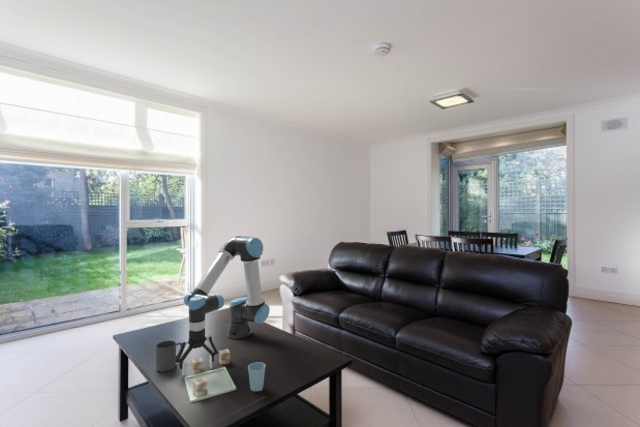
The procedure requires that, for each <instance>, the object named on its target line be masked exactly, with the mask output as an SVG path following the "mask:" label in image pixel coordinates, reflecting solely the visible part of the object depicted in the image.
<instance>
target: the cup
mask: <svg viewBox="0 0 640 427" xmlns="http://www.w3.org/2000/svg"><path fill="white" fill-rule="evenodd" d="M247 371H248V379H249V388H250V391H252V392H261V391H263V390H264V389H263V388H264V384H265V382H264V381H265V374H266V363H264V362H261V361H256V362H252V363H250V364H248V366H247Z"/></svg>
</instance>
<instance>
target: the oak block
mask: <svg viewBox="0 0 640 427" xmlns="http://www.w3.org/2000/svg"><path fill="white" fill-rule="evenodd" d="M218 362H219V364H220V365H223V366H225V365H230V364H231V352H230V350H229V349H228V348H225V349H222V350H219V351H218Z"/></svg>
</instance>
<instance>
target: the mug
mask: <svg viewBox="0 0 640 427" xmlns="http://www.w3.org/2000/svg"><path fill="white" fill-rule="evenodd" d="M177 346H180V348H181V346H182V342H176V341H175V340H165V341H161V342H159V343H157V344H156V347H155V349H156V350H155V366H156V367H155V370H156V371H157V372H159V371H160V372H159V373H165V371H166V372H169V371H172V370H174V369H175V368H176V366H177V363H176V361H175V359H176V357H177Z"/></svg>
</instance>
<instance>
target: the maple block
mask: <svg viewBox="0 0 640 427" xmlns="http://www.w3.org/2000/svg"><path fill="white" fill-rule="evenodd" d="M193 395H194V396H195V397H196V398H197V397H201V396H204V395H208V381H207V380H206V379H205V378H204V377H202V378H199V379H197V380H194V381H193Z"/></svg>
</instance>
